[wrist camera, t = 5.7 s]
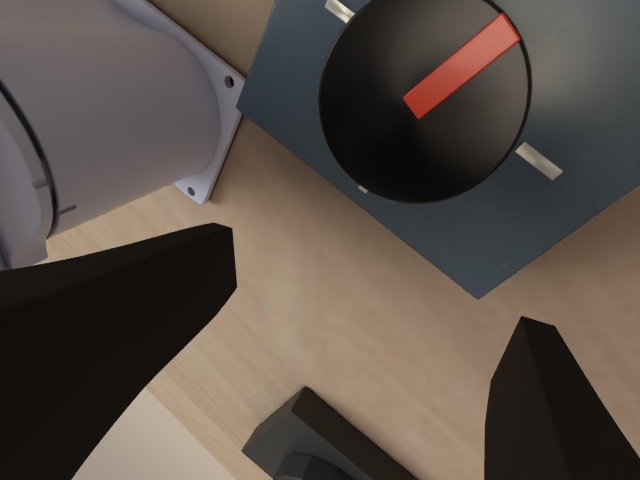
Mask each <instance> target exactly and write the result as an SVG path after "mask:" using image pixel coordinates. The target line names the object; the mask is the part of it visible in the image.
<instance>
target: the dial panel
mask: <svg viewBox="0 0 640 480" xmlns="http://www.w3.org/2000/svg"><path fill="white" fill-rule="evenodd" d="M370 1H371V0H276V1H275V3H274V6H273V9H272V11H271V14H270V17H269V19H268V22H267V24H266V27H265V30H264V32H263V35H262V38H261V40H260V43H259V46H258V48H257V51H256V54H255V56H254V59H253V62H252V64H251V67H250V70H249V72H248V75H247V78H246V80H245V83H244V86H243V88H242V91H241V94H240V96H239V99H238V102H237V104H236V109H238V110H239V111H240V112H241V113H243V114H244V115H245V116H246V117H248V118H249V119H250V120H251V121H253V122H254V123H255V124H257V125H258V126H259V127H260V128H262V129H263V130H264V131H265V132H267V133H268V134H269V135H270V136H272V137H273V138H274V139H275V140H277V141H278V142H279V143H280V144H282V145H283V146H284V147H286V148H287V149H288V150H289V151H291V152H292V153H293V154H294V155H296V156H297V157H298V158H299V159H301V160H302V161H303V162H304V163H306V164H307V165H308V166H309V167H311V168H312V169H313V170H315V171H316V172H317V173H318V174H320V175H321V176H322V177H323V178H325V179H326V180H327V181H328V182H330V183H331V184H332V185H333V186H335V187H336V188H337V189H338V190H340V191H341V192H342V193H344V194H345V195H346V196H347V197H349V198H350V199H351V200H352V201H354V202H355V203H356V204H357V205H359V206H360V207H361V208H362V209H364V210H365V211H366V212H367V213H369V214H370V215H371V216H372V217H374V218H375V219H376V220H378V221H379V222H380V223H381V224H383V225H384V226H385V227H386V228H388V229H389V230H390V231H391V232H393V233H394V234H395V235H396V236H398V237H399V238H400V239H401V240H403V241H404V242H405V243H407V244H408V245H409V246H410V247H412V248H413V249H414V250H415V251H417V252H418V253H419V254H420V255H422V256H423V257H424V258H425V259H427V260H428V261H429V262H430V263H432V264H433V265H434V266H436V267H437V268H438V269H439V270H441V271H442V272H443V273H444V274H446V275H447V276H448V277H449V278H451V279H452V280H453V281H454V282H456V283H457V284H458V285H459V286H461V287H462V288H463V289H465V290H466V291H467V292H468V293H470V294H471V295H472V296H473V297H475V298H476V299H480V298H482V297H483V296H484V295H486V294H487V293H489V292H490V291H491V290H493V289H494V288H495V287H497V286H498V285H500V284H501V283H502V282H504V281H505V280H507V279H508V278H509V277H511V276H512V275H514V274H515V273H516V272H518V271H519V270H521V269H522V268H523V267H525V266H526V265H528V264H529V263H530V262H532V261H533V260H535V259H536V258H537V257H539V256H540V255H542V254H543V253H544V252H546V251H547V250H548V249H550V248H551V247H553V246H554V245H555V244H557V243H558V242H560V241H561V240H562V239H564V238H565V237H567V236H568V235H569V234H571V233H572V232H574V231H575V230H576V229H578V228H579V227H581V226H582V225H583V224H585V223H586V222H588V221H589V220H590V219H592V218H593V217H594V216H596V215H597V214H599V213H600V212H601V211H603V210H604V209H606V208H607V207H608V206H610V205H611V204H613V203H614V202H615V201H617V200H618V199H620V198H621V197H622V196H624V195H625V194H627V193H628V192H629V191H631V190H632V189H634V188H635V187H636V186H638V185H639V184H640V0H493V1H494V2H495V3H496V4H497V5H498V6H499V7H501V8H502V9H503V10H504V11H505V12H506V14H507V15H508V16H509V17H510V19H511V20H512V21H513V22H514V24H515V25H516V27H517V29H518V31H519V33H520V34H521V36H522V38H523V41H524V43H525V46H526V49H527V52H528V55H529V60H530V65H531V70H532V96H531V105H530V109H529V113H528V118H527V121H526V124H525V126H524V129H523V131H522V134H521V136H520V138H519V140H518V142H517V143H516V145H515V147H514V149H513V150H512V152H511V153H510V154H509V156H508V157H507V159H506V160H505V161H504V162H503V164H502V165H501V166H500V167H499V168H498V169H497V170H496V171H495V172H494V173H493V174H492V175H491V176H489V177H488V178H487V179H486V180H485V181H484V182H482V183H480V184H479V185H477V186H476V187H474V188H473V189H471V190H469V191H467V192H465V193H463V194H461V195H459V196H456V197H454V198H451V199H448V200H444V201H440V202H435V203H426V204H408V203H401V202H395V201H392V200H388V199H385V198H382V197H380V196H377V195H375V194H373V193H371V192H369V191H368V190H366V189H364V188H363V187H362V186H360V185H359V184H357V183H356V182H355V181H354V180H353V179H352V178H350V177H349V176H348V175H347V174H346V172H345V171H344V170H343V169H342V168H341V167H340V165H339V164H338V162H337V161H336V160H335V158H334V157H333V155H332V153H331V151H330V149H329V147H328V145H327V142H326V140H325V137H324V134H323V130H322V127H321V122H320V116H319V102H318V97H319V85H320V79H321V74H322V70H323V67H324V63H325V60H326V57H327V55H328V53H329V51H330V48H331V46H332V44H333V42H334V41H335V39H336V37H337V36H338V34H339V32H340V31H341V30H342V28H343V27H344V26H345V24H346V23H347V22H348V21H349V19H350V18H351V17H352V16H353V15H354V14H355V13H356V12H357V11H358V10H359V9H361V8H362V7H363V6H364V5H366V4H367V3H368V2H370Z"/></svg>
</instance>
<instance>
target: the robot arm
mask: <svg viewBox="0 0 640 480" xmlns="http://www.w3.org/2000/svg"><path fill="white" fill-rule="evenodd" d="M230 77H231V78H232V79H233V81H234V86H232V85H231V84H230ZM245 80H246V78H245V77H244V76H242V75H241V74H240V73H238V72H237V71H236V70H235V69H233V68H232V67H231V66H230V65H228V64H227V63H226V62H224V61H223V60H222V59H221V58H219V57H218V56H217V55H216V54H214V53H213V52H212V51H210V50H209V49H208V48H207V47H205V46H204V45H203V44H202V43H200V42H199V41H198V40H196V39H195V38H194V37H193V36H191V35H190V34H189V33H188V32H186V31H185V30H184V29H182V28H181V27H180V26H179V25H177V24H176V23H175V22H174V21H172V20H171V19H170V18H168V17H167V16H166V15H165V14H163V13H162V12H161V11H160V10H158V9H157V8H156V7H155V6H153V5H152V4H151V3H149V2H148V1H147V0H0V480H71V479H72V478H73V476H74V475H75V473H76V472H77V471H78V469H79V468H80V467H81V465H82V464H83V463H84V461H85V460H86V459H87V457H88V456H89V455H90V453H91V452H92V451H93V450H94V448H95V447H96V446H97V445H98V443H99V442H100V441H101V439H102V438H103V437H104V436H105V434H106V433H107V432H108V431H109V429H110V428H111V427H112V426H113V424H114V423H115V422H116V421H117V419H118V418H119V417H120V416H121V415H122V413H123V412H124V411H125V410H126V408H127V407H128V406H129V405H130V404H131V403H132V401H133V400H134V399H135V398H136V397H137V395H138V394H139V393H140V392H141V391H142V390H143V388H144V387H145V386H146V385H147V384H148V383H149V382H150V381H151V380H152V379H153V378H154V377H155V376H156V375H157V374H158V373H159V372H160V371H161V370H162V369H163V368H164V367H165V366H166V365H167V364H168V363H169V362H170V361H171V360H172V359H173V358H174V357H175V356H176V355H177V354H178V353H179V352H180V351H181V350H182V349H183V348H184V347H185V346H186V345H187V344H188V343H189V342H190V341H191V340H192V339H193V338H194V337H195V336H196V335H197V334H198V333H199V332H200V331H201V330H202V329H203V328H204V327H205V326H206V325H207V324H208V323H209V322H210V321H211V320H212V319H213V318H214V317H215V316H216V315H217V313H218V312H219V311H220V310H221V308H222V307H223V306H224V305H225V303H226V302H227V301H228V299H229V298H230V296H231V295H232V294H233V292H234V291H235V290H236V288H237V280H236V268H235V256H234V244H233V232H232V228H230V227H227V226H223V225H220V224H217V223H209V224H204V225H199V226H195V227H191V228H187V229H183V230H179V231H175V232H172V233H168V234H164V235H161V236H157V237H154V238H150V239H146V240H143V241H139V242H135V243H132V244H128V245H124V246H120V247H116V248H112V249H108V250H104V251H100V252H96V253H92V254H88V255H84V256H79V257H75V258H70V259H65V260H61V261H56V262H50V263H45V264H39V265H34V264H36V263H38V262H40V261H42V260H44V259H46V258H48V254H47V250H46V244H45V243H46V239H48V238H51V237H53V236H55V235H57V234H60V233H62V232H64V231H66V230H69V229H71V228H73V227H75V226H78V225H80V224H82V223H84V222H87V221H89V220H91V219H93V218H96V217H98V216H100V215H102V214H105V213H107V212H109V211H111V210H114V209H116V208H118V207H120V206H123V205H125V204H127V203H129V202H132V201H134V200H136V199H138V198H141V197H143V196H145V195H147V194H150V193H152V192H154V191H156V190H159V189H161V188H163V187H165V186H168V185H170V184H172V183H173V184H174V185H175V186H176V187H178V188H179V189H180V190H181V191H182V192H184V193H185V194H186V195H187V196H189V197H190V198H191V199H192V200H193V201H195V202H196V203H197V204H200V205H202V204H204V203H206V202H207V201H208V200H209V197H210V195H211V192H212V190H213V187H214V185H215V182H216V180H217V177H218V175H219V172H220V169H221V167H222V164H223V162H224V159H225V157H226V154H227V152H228V149H229V147H230V144H231V142H232V139H233V137H234V134H235V131H236V129H237V126H238V124H239V121H240V119H241V116H242V114H243V113H241V112H240V111H239V110H238V109H236V104H237V102H238V99H239V96H240V94H241V91H242V88H243V86H244V83H245ZM192 188H193V189H192ZM193 190H194V191H195V192H194V191H193ZM32 265H34V266H32ZM484 480H640V458H639V456H638V455H637V453H636V452H635V450H634V449H633V448H632V446H631V445H630V443H629V442H628V440H627V439H626V437H625V436H624V435H623V433H622V432H621V430H620V429H619V427H618V426H617V424H616V423H615V421H614V420H613V418H612V417H611V415H610V414H609V412H608V411H607V409H606V408H605V406H604V405H603V403H602V401H601V400H600V398H599V397H598V395H597V394H596V392H595V390H594V389H593V387H592V386H591V384H590V382H589V381H588V379H587V378H586V376H585V374H584V373H583V371H582V370H581V368H580V366H579V365H578V363H577V361H576V360H575V358H574V356H573V355H572V353H571V352H570V350H569V348H568V347H567V345H566V343H565V342H564V340H563V338H562V337H561V335H560V334H559V332H558V330H557V329H556V327H555V326H553V325H550V324H547V323H543V322H540V321H537V320H533V319H530V318H527V317H524V316H521V318H520V320H519V322H518V324H517V326H516V328H515V330H514V333H513V335H512V337H511V339H510V341H509V343H508V345H507V348H506V350H505V352H504V354H503V356H502V358H501V360H500V362H499V365H498V367H497V369H496V371H495V373H494V375H493V377H492V380H491V384H490V391H489V398H488V405H487V413H486V421H485V460H484Z"/></svg>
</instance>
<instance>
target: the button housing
mask: <svg viewBox="0 0 640 480" xmlns="http://www.w3.org/2000/svg"><path fill="white" fill-rule="evenodd" d="M242 452H243V453H244V454H245V455H246V456H247V457H248V458H250V459H251V460H252V461H253V462H254V463H255V464H257V465H258V466H259V467H260V468H261V469H262V470H264V471H265V472H266V473H267V474H268V475H269V476H271V477H272V478H273V480H416V479H415V478H414V477H413V476H412V475H410V474H409V473H408V472H407V471H406V470H405V469H403V468H402V467H401V466H400V465H399V464H397V463H396V462H395V461H394V460H393V459H391V458H390V457H389V456H388V455H387V454H385V453H384V452H383V451H382V450H381V449H379V448H378V447H377V446H376V445H375V444H373V443H372V442H371V441H370V440H369V439H367V438H366V437H365V436H364V435H363V434H361V433H360V432H359V431H358V430H357V429H355V428H354V427H353V426H352V425H351V424H349V423H348V422H347V421H346V420H345V419H343V418H342V417H341V416H340V415H339V414H337V413H336V412H335V411H334V410H333V409H332V408H330V407H329V406H328V405H327V404H326V403H324V402H323V401H322V400H321V399H320V398H318V397H317V396H316V395H315V394H314V393H312V392H311V391H310V390H309V389H308V388H306V387H303V388H302V389H301V390H300V391H299V392H298V393H297V394H295V395H294V396H293V397H292V398H291V399H290V400H288V401H287V402H286V403H285V404H284V405H283V406H281V407H280V408H279V409H278V410H277V411H276V412H275V413H273V414H272V415H271V416H270V417H269V418H268V419H266V420H265V421H264V422H263V423H262V424H261V425H259V426H258V427H257V428H256V429H255V430H254V432H253V433H252V435H251V436H250V438H249V439H248V441H247V443H246V444H245V446H244V447H243V449H242Z"/></svg>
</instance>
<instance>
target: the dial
mask: <svg viewBox="0 0 640 480" xmlns="http://www.w3.org/2000/svg"><path fill="white" fill-rule="evenodd" d="M531 96H532V70H531V65H530V60H529V55H528V52H527V49H526V46H525V43H524V41H523V38H522V36H521V34H520V33H519V31H518V29H517V27H516V25H515V24H514V22H513V21H512V20H511V19H510V17H509V16H508V15H507V14H506V12H505V11H504V10H503V9H502V8H501V7H499V6H498V5H497V4H496V3H495V2H494V1H493V0H371V1H370V2H368V3H367V4H366V5H364V6H363V7H362V8H361V9H359V10H358V11H357V12H356V13H355V14H354V15H353V16H352V17H351V18H350V19H349V21H348V22H347V23H346V24H345V26H344V27H343V28H342V30H341V31H340V32H339V34H338V36H337V37H336V39H335V41H334V42H333V44H332V46H331V48H330V51H329V53H328V55H327V57H326V60H325V63H324V67H323V70H322V74H321V79H320V85H319V97H318V102H319V116H320V122H321V127H322V130H323V134H324V137H325V140H326V142H327V145H328V147H329V149H330V151H331V153H332V155H333V157H334V158H335V160H336V161H337V162H338V164H339V165H340V167H341V168H342V169H343V170H344V171H345V172H346V174H347V175H348V176H349V177H350V178H352V179H353V180H354V181H355V182H356V183H357V184H359V185H360V186H362V187H363V188H364V189H366V190H368V191H369V192H371V193H373V194H375V195H377V196H380V197H382V198H385V199H388V200H392V201H395V202H401V203H408V204H426V203H435V202H440V201H444V200H448V199H451V198H454V197H456V196H459V195H461V194H463V193H465V192H467V191H469V190H471V189H473V188H474V187H476V186H477V185H479V184H480V183H482V182H484V181H485V180H486V179H487V178H488V177H489V176H491V175H492V174H493V173H494V172H495V171H496V170H497V169H498V168H499V167H500V166H501V165H502V164H503V162H504V161H505V160H506V159H507V157H508V156H509V154H510V153H511V152H512V150H513V149H514V147H515V145H516V143H517V142H518V140H519V138H520V136H521V134H522V131H523V129H524V126H525V124H526V121H527V118H528V113H529V109H530V105H531Z"/></svg>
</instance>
